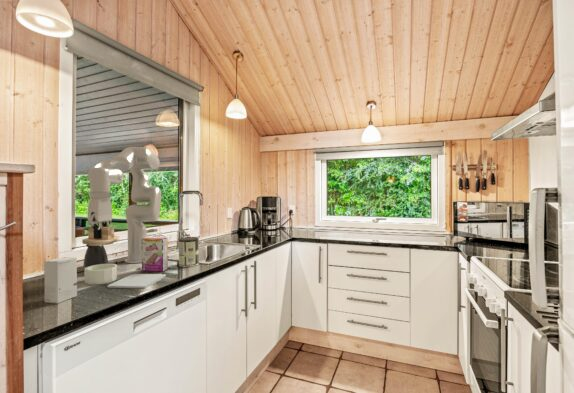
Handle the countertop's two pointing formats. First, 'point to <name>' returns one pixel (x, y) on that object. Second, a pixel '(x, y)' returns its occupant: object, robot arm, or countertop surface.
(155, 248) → the candy bar box
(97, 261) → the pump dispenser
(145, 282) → the mat
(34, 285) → the countertop surface
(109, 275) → the bowl
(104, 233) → the lid
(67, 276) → the skincare box
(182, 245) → the coffee can
